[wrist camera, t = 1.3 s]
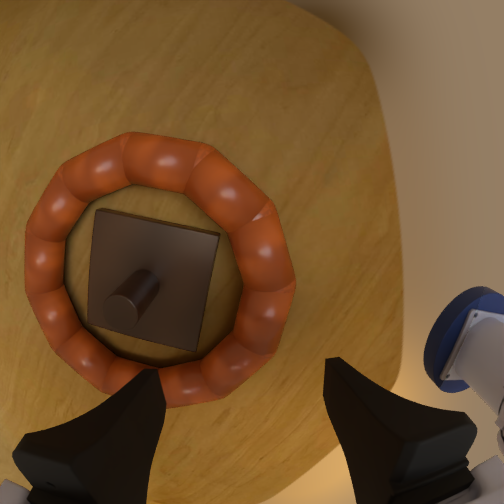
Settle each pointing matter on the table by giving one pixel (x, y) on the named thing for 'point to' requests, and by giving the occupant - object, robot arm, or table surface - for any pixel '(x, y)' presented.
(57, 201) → the ring
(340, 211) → the table surface
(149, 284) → the square peg base
